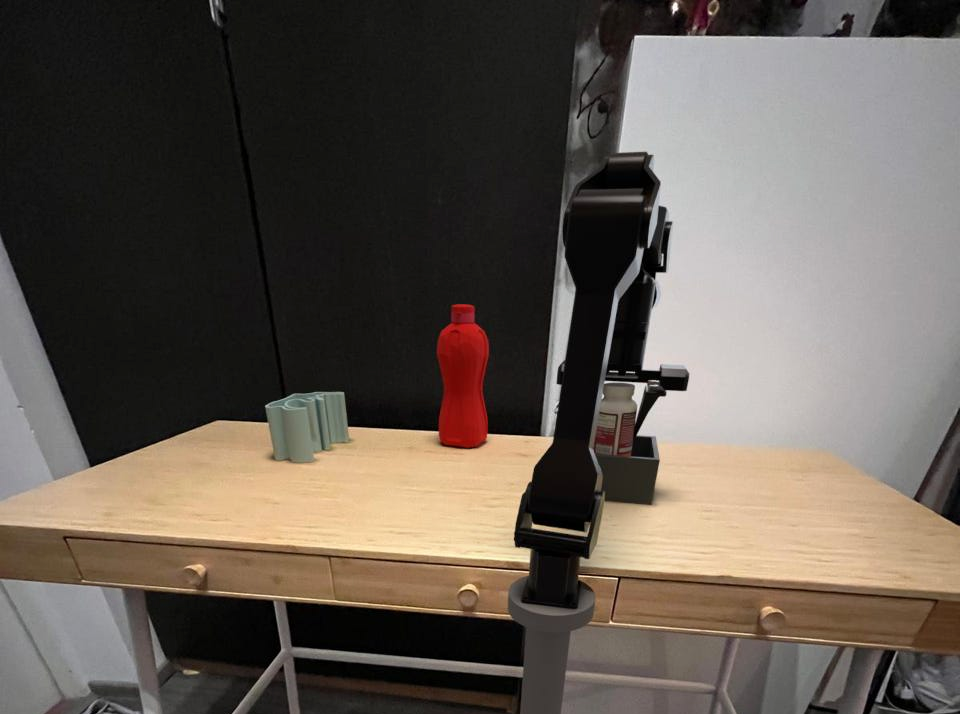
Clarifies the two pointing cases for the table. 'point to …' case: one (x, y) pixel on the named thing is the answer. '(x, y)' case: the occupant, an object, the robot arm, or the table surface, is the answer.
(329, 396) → the squiggly pen holder
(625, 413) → the pill bottle
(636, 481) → the waste bin
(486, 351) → the water bottle
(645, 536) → the table surface
